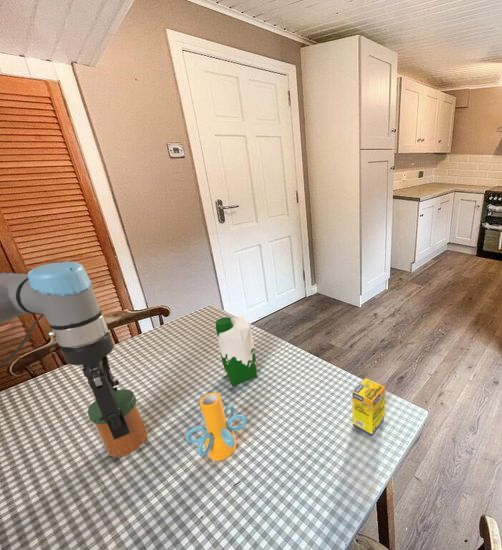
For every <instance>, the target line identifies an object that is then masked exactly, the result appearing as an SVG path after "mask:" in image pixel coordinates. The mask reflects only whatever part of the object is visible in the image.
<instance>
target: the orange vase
mask: <svg viewBox="0 0 502 550" xmlns="http://www.w3.org/2000/svg"><path fill="white" fill-rule="evenodd" d="M223 405H224V404H223V401H222V397H221V394H220V393H219V392H209V393H207V394H204V395H203V396H202V397H201V398H200V400H199V406H200V411H201V413H200V420H201V422H202V423H203V426H201V425H199V426H195V427H192V428H190V429H189V430H188V431H187V432H186V435H185V439H186V442H188V443H190V444H198V446H197V453H198V455H199V456H200V457H205V456H206V455H207V456H208V458H209V459H210V460H211V461H214V462H221V461H224V460H226V459H228V458H229V457H230V456H232V455H233V453H234V452H235V451H236V448H237V440H236V434H235V432H237V431H240V430H242V429H243V428H244V427H245V426H246V425H247V421H248V420H247V417H246V416H245V415H243V414H235V413H236V412H235V411H236V410H235V406H234V404H228V405H227V406H226V407H225V408H224V406H223ZM229 410H230V415H229V417H228V419H227V418H226V417H227V414H228V411H229ZM237 419H241V420H242V423H241V424H240V425H239V426H232V425H231V423H232V421H235V420H237ZM196 431H200V432H201V431H202V432H203V435H202V437H200V438H197V439H196V438H192V437H191V435H192V434H193V433H194V432H196ZM204 446H205V448H206V449H205V450H204V451H203V447H204Z"/></svg>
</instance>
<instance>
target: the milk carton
mask: <svg viewBox="0 0 502 550" xmlns="http://www.w3.org/2000/svg"><path fill="white" fill-rule="evenodd" d="M214 325H215V331H216V338H217V345H218V349H219V354H220V357H221V362H222V366H223V369H224V371H225V373H226V376H227V379H228V380H229V382H230V385H231V387H235V386H238V385H241V384H244V383H246V382H248V381H251V380H254V379H256V378H257V377H258V373H257V357H256V351H255V346H254V340H253V333H252V329H251V326H250V324H249V323H248V322H247V320H246V318H245V317H244V315H242V316H238V317H232V318H231V317H227V316H225V317H220V318H218V319H217V320H215V324H214Z"/></svg>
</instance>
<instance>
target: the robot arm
mask: <svg viewBox="0 0 502 550" xmlns="http://www.w3.org/2000/svg"><path fill="white" fill-rule="evenodd" d="M23 315H40V316H38V317H37V319H36V320H35V321H34V322H33V324H32V325H31V327H30V329H28V332H27V333H26V335H25V337H24V338H23V340H22V342H20V344H19V345H18V346H17V348H16V349H15V350H14V351H13V352H12V353H11V354H10V355H8V357H6V359H4V360H3V361H2V362H0V368H1V367H3V366H4V365H5V364H6V363H8V362H9V361H10V360H11V359H12V358H14V356H15V355H16V354H17V353H18V352H19V351H20V350H21V349H22V348H23V346H24V345H25V343H26V342H27V341H28V339H29V337H30V336H31V333H32V332H33V330H34V328H35V327H36V325H37V324H38V323H39V321H40V320H41V319H42V318H43V317H45V319H46V321H47V322H48V325H49V328H50V329H51V331H49V332H48V335H49V337H55V340H56V342H57V344H58V346H60V349H59V350H60V352H61V354H62V356H63V358H64V361H65V362H66V364H67V365H70V366H82V373H83V376H84V377H85V378H86V379H87V384H88V385H89V387H90V389H91V390H92V393H93V395H94V398H95V401H97V403H98V406H99V408H100V411H101V413H102V417H100V421H101V420H104V421H105V422H107V424H108V427H109V429H110V431H111V433H112V436H113V438H114V440H115V439H117V438H120V437H122V436H124V435H126V434H128V433H130V431H129V428H128V426H127V424H126V421H125V419H124V416H123V414H122V411H121V409H120V408H119V407H118V404H117V401H116V398H115V395H114V393H113V391H117V390H119V389H118V387H117V386H119V385H120V381H119V380H118V379H117V380H115V377H114V375H113V374H112V371H111V367H110V363H109V362H110V361H109V358H108V355H109V354H110V353H112V351H113V350H114V349H115V345H114V342H113V338H112V336H111V334H110V332H109V328H108V325H107V321H106V319H105V316H104V314H103V312H102V310H101V307H100V305H99V302H98V299H97V296H96V294H95V291H94V288H93V284H92V280H91V279H90V278H89V275H88V273H87V271H86V269H85V267H84V266H83V265H82V264H81V263H80V262H76V261H62V262H52V263H47V264H43V265H40V266H37V267H33V268H31V270H29V271H28V272H27V273H15V272H0V325H1V324H3V323H5V322H8V321H10V320H12V319H15V318H17V317H19V316H23Z"/></svg>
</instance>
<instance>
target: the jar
mask: <svg viewBox="0 0 502 550" xmlns="http://www.w3.org/2000/svg"><path fill="white" fill-rule="evenodd" d="M124 419H125V421H126V424H127V426H128V428H129V431H130V433H128V434H126V435H124V436H122V437H120V438H117V439H115V440H114V438H113V436H112V433H111V431H110V429H109V427H108V424H95V423H93V425H94V427H95V429H96V432H97V434H98V435H99V438H100V440H101V442H102V444H103V446H104V449H105V451H106V454H107V455H108V456H109V457H111V458H120V457H124V456H127V455H129V454H132V453H134V452H135V451H137V449H139V448H140V447H141V446H143V444H144V443H145V441H146V439H147V437H148V431H147V429H146V426H145V424H144V421H143V418H142V416H141V413H140V410H139V407H138V404H136V405H135V406H134V408H133V409H132V410H131V411H130V412H129V413H128V414H126V415H125V416H124Z"/></svg>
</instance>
